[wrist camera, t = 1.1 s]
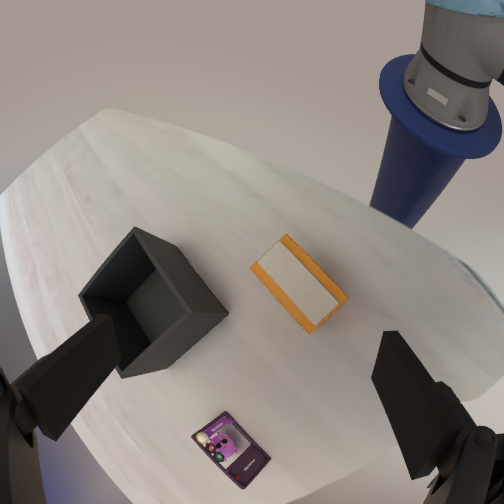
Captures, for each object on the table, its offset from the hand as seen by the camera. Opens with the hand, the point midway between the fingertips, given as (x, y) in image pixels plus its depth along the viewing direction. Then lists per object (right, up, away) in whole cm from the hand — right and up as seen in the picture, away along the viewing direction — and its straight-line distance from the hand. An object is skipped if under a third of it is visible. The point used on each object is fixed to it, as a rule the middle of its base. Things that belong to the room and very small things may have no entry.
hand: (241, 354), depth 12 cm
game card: (-2, -20, +18) cm, 27 cm away
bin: (-11, -3, +25) cm, 27 cm away
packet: (+7, 0, +20) cm, 21 cm away
